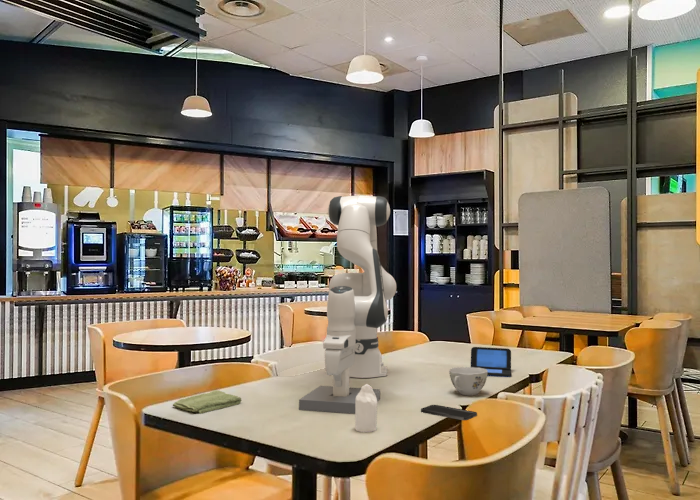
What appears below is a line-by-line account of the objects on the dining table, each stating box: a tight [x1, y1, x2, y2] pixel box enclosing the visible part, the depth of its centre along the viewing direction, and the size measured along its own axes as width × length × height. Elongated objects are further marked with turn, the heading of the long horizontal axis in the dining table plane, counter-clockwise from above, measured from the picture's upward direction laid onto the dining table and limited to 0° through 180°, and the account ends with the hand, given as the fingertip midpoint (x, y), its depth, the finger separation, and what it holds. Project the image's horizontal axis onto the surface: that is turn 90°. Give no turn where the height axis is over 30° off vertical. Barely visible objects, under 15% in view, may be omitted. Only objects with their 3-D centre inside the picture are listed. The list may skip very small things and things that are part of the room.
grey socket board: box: [298, 385, 381, 415], centre depth 185 cm, size 20×20×3 cm
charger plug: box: [332, 368, 350, 397], centre depth 185 cm, size 4×4×10 cm
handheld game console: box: [470, 346, 512, 378], centre depth 235 cm, size 16×13×9 cm
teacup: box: [448, 366, 488, 396], centre depth 199 cm, size 15×12×8 cm
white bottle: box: [354, 383, 378, 433], centre depth 159 cm, size 6×12×6 cm
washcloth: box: [172, 390, 242, 415], centre depth 183 cm, size 13×18×3 cm
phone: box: [420, 404, 478, 421], centre depth 175 cm, size 8×1×15 cm
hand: (341, 384), depth 185 cm, fingers closed on charger plug, 4 cm apart
